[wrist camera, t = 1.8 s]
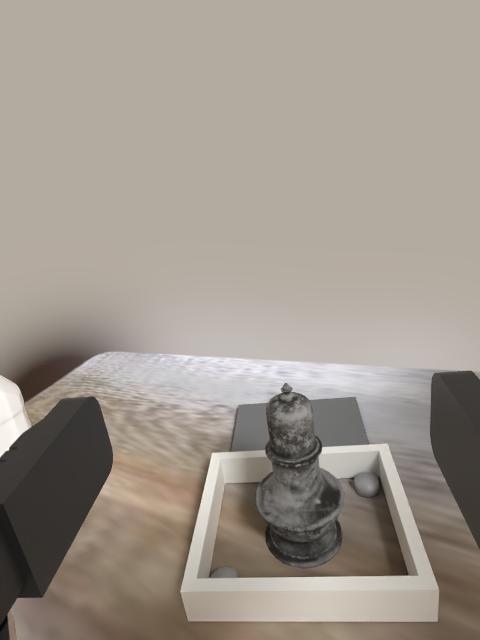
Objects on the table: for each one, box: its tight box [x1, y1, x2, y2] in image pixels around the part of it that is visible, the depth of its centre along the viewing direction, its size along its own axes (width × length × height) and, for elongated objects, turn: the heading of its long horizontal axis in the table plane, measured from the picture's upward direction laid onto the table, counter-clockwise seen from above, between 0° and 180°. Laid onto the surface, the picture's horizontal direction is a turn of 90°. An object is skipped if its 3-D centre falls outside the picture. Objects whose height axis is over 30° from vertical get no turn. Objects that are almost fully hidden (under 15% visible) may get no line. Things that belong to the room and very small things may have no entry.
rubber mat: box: [231, 397, 369, 452], centre depth 41 cm, size 12×8×1 cm, turn 85°
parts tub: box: [180, 444, 439, 622], centre depth 29 cm, size 14×12×2 cm
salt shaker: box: [255, 383, 344, 568], centre depth 28 cm, size 6×6×12 cm
